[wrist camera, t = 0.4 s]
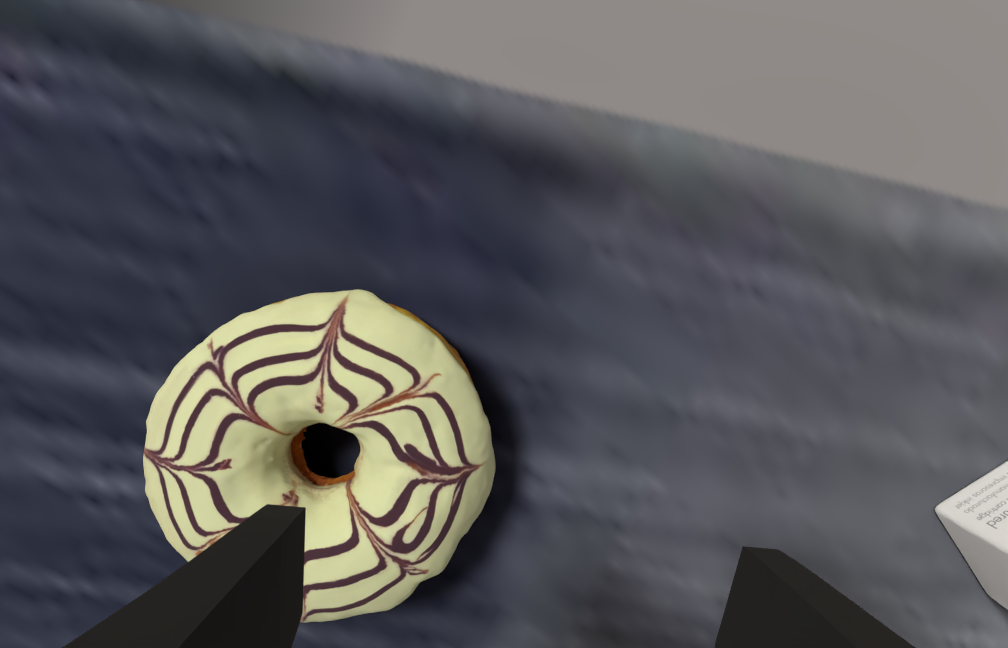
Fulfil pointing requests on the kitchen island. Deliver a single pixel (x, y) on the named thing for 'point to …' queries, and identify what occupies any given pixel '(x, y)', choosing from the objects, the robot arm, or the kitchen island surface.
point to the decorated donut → (340, 403)
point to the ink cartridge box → (982, 529)
